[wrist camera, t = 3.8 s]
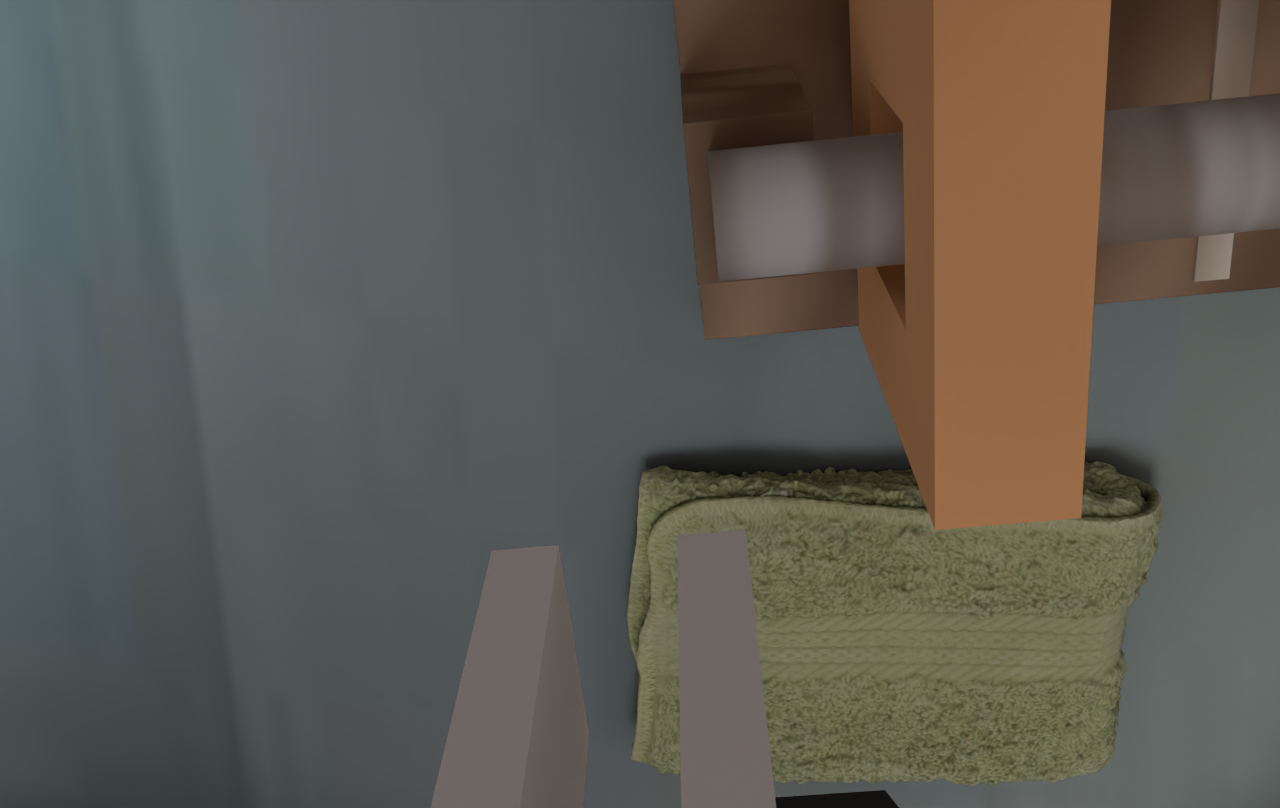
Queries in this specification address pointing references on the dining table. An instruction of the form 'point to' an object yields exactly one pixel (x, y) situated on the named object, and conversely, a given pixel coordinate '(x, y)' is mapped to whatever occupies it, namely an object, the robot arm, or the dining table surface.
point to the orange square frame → (987, 244)
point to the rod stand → (874, 174)
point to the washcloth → (903, 624)
